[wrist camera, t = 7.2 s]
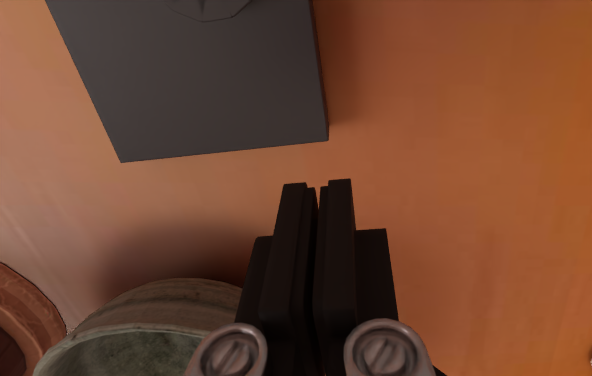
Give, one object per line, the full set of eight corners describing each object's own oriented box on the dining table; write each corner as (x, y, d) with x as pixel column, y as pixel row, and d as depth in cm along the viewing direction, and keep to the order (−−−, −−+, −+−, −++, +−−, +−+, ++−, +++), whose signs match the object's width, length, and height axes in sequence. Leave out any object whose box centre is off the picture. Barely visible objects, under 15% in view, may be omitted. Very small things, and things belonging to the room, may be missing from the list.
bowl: (63, 310, 38) (-14, 422, 30) (177, 171, 28) (109, 282, 20) (243, 402, 44) (221, 516, 36) (388, 316, 34) (404, 445, 26)
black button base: (30, -86, 20) (-21, -84, 17) (293, -145, 18) (283, -154, 15) (133, 148, 27) (108, 177, 24) (329, 126, 25) (327, 155, 22)
